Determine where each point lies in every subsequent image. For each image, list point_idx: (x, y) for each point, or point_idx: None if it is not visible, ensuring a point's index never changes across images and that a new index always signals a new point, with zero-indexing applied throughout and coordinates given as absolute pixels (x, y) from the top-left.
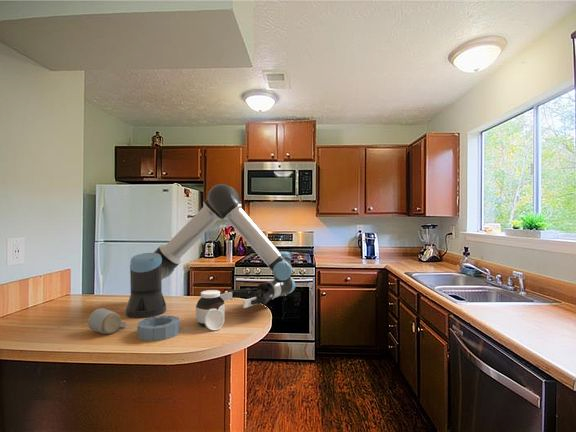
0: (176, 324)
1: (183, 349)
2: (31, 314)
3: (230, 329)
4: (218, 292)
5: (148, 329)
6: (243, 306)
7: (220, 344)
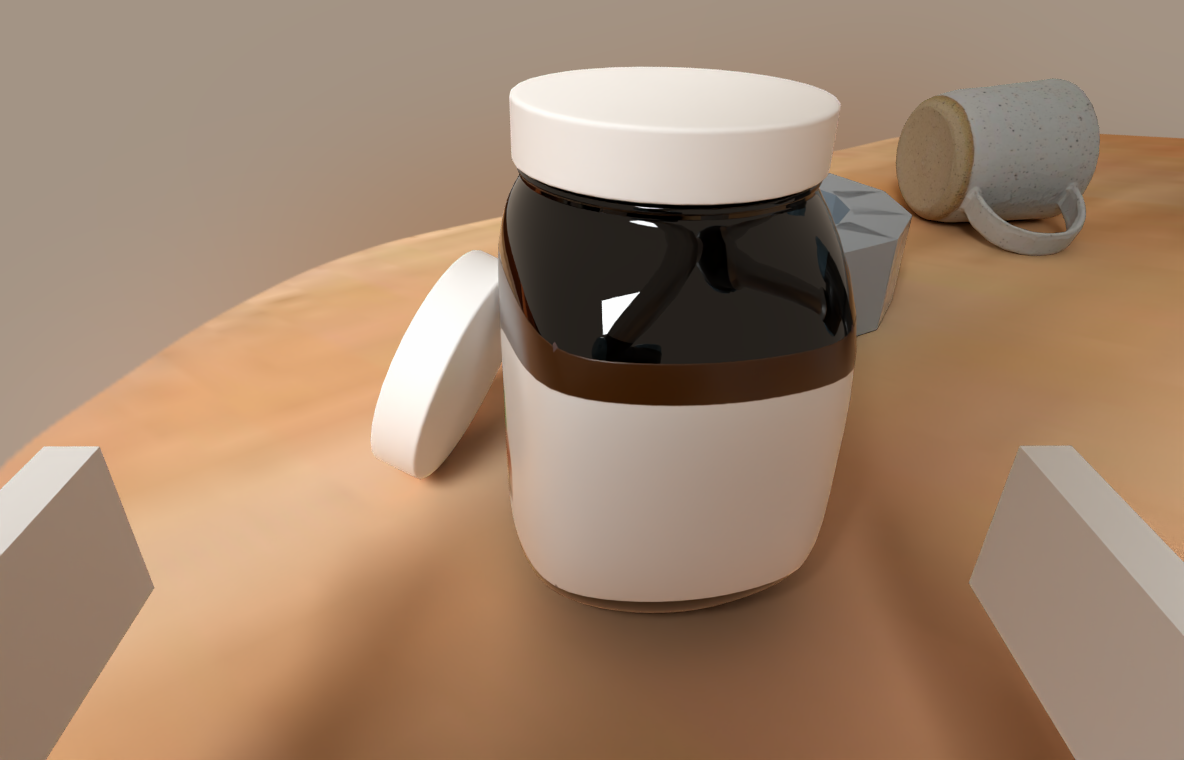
0: None
1: (384, 260)
2: None
3: (289, 532)
4: (537, 102)
5: None
6: (138, 567)
7: (188, 346)
